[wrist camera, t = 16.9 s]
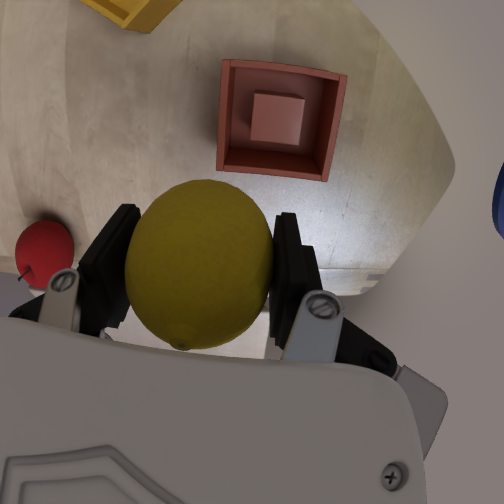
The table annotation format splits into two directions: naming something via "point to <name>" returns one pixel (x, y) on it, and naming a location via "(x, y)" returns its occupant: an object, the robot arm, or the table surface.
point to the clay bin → (269, 153)
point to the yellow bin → (134, 12)
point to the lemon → (200, 264)
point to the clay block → (277, 117)
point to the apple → (43, 252)
